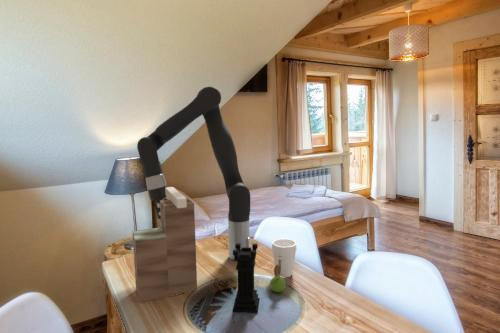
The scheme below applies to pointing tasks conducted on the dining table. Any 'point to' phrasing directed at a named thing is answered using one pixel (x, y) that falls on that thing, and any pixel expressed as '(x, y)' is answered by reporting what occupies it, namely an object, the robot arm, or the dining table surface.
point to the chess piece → (245, 280)
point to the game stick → (175, 197)
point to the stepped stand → (166, 254)
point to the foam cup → (284, 255)
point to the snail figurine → (277, 278)
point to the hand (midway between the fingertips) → (166, 226)
